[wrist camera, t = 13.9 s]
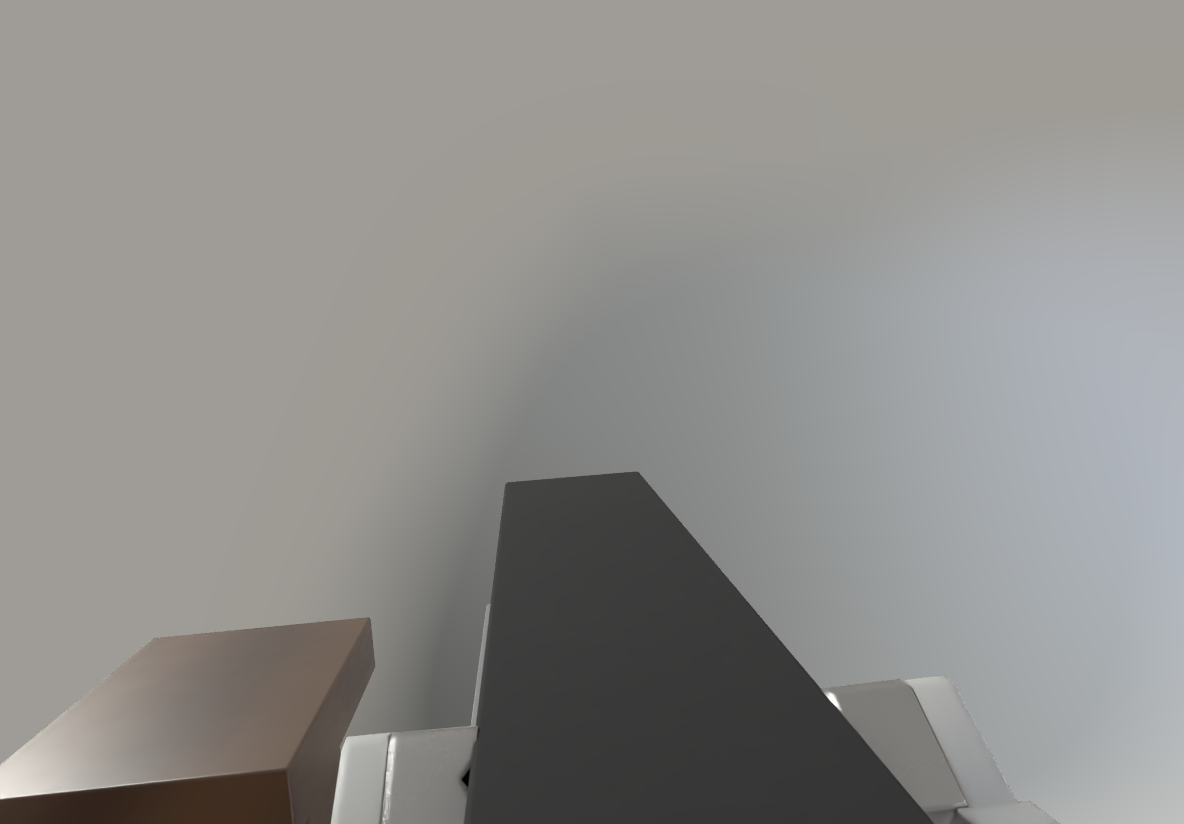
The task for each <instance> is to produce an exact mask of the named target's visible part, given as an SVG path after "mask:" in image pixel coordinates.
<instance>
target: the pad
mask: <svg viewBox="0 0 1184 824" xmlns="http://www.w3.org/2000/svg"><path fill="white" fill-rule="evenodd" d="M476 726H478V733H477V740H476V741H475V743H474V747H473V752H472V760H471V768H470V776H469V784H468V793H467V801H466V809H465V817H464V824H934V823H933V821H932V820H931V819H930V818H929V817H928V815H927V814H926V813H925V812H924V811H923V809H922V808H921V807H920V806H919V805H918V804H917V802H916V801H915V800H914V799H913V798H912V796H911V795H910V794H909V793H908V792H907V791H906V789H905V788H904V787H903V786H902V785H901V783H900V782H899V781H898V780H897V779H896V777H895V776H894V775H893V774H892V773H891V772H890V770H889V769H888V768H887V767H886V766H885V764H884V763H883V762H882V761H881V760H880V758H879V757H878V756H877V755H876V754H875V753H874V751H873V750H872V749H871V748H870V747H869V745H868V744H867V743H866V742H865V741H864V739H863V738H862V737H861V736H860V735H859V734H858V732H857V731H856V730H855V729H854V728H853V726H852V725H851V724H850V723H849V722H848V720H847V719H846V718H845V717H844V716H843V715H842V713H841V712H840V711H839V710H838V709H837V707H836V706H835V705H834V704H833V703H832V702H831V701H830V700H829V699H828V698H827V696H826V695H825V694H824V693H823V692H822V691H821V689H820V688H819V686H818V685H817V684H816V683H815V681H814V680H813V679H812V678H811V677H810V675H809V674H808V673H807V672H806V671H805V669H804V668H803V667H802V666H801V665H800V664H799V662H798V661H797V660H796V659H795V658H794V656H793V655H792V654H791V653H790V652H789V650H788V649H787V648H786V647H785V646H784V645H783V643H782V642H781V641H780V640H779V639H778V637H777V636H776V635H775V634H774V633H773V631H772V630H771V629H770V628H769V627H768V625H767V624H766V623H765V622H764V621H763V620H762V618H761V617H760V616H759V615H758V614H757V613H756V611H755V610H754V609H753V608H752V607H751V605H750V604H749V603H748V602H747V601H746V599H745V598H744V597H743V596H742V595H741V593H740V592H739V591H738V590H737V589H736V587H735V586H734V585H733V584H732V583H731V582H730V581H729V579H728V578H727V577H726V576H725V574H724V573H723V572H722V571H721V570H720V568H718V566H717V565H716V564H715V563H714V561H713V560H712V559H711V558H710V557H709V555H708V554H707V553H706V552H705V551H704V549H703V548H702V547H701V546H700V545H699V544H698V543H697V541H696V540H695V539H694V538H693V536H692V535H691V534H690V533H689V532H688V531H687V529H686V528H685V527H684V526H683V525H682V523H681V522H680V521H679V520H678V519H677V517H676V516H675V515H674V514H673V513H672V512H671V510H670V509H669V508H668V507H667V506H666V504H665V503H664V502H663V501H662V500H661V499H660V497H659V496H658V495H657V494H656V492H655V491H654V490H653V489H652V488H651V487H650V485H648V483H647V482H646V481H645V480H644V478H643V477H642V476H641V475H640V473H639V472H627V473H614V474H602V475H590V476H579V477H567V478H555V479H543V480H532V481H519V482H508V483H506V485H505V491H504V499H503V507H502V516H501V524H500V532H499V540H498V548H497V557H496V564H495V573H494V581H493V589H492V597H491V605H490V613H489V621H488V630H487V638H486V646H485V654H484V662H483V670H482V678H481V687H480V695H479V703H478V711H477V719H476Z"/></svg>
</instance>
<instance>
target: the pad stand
mask: <svg viewBox="0 0 1184 824" xmlns="http://www.w3.org/2000/svg"><path fill="white" fill-rule="evenodd" d="M374 668H375V660H374V649H373V640H372V630H371V620H370V618H357V619H348V620H338V621H326V622H317V623H307V624H296V625H286V626H275V627H266V628H255V629H244V630H234V631H225V632H214V633H205V634H204V633H203V634H193V635H183V636H173V637H162V638H154V639H153V640H151V641H150V642H149V643H148V644H147V645H145V646H144V647H143V648H142V649H140V650H139V651H138V652H137V653H136V654H134V655H133V656H132V657H131V658H129V659H128V660H127V661H126V662H125V663H123V664H122V665H121V666H120V667H119V668H117V669H116V670H115V671H114V672H112V673H111V674H110V675H109V676H108V677H106V678H105V679H104V680H103V681H101V682H100V683H99V684H98V685H97V686H96V687H94V688H93V689H92V690H91V691H90V692H88V693H87V694H86V695H85V696H83V697H82V698H81V699H80V700H78V701H77V702H76V703H75V704H73V705H72V706H71V707H70V708H69V709H67V710H66V711H65V712H64V713H63V714H61V715H60V716H59V717H58V718H56V719H55V720H54V721H53V722H52V723H50V724H49V725H48V726H47V727H45V729H43V730H42V731H41V732H39V733H38V734H37V735H36V736H35V737H33V738H32V739H31V740H30V741H28V742H27V743H26V744H25V745H24V746H22V747H21V748H20V749H19V750H18V751H16V752H15V753H14V754H13V755H11V756H10V757H9V758H8V759H7V760H5V761H4V762H3V763H2V764H0V824H331V818H332V811H333V805H334V798H335V791H336V784H337V777H338V770H339V763H340V756H341V752H340V745H341V742H342V740H343V738H344V736H345V734H346V731H347V729H348V727H349V724H350V722H351V720H352V718H353V716H354V713H355V711H356V709H357V707H358V704H359V702H360V700H361V697H362V695H363V693H364V691H365V688H366V686H367V684H368V682H369V680H370V677H371V675H372V673H373V671H374Z"/></svg>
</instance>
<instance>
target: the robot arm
mask: <svg viewBox="0 0 1184 824" xmlns="http://www.w3.org/2000/svg"><path fill="white" fill-rule="evenodd" d="M821 691H822V692H823V693H824V694H825V695H826V696H827V698H828V699H829V700H830V701H831V702H832V703H833V704H834V705H835V706H836V707H837V709H838V710H839V711H840V712H841V713H842V715H843V716H844V717H845V718H846V719H847V720H848V722H849V723H850V724H851V725H852V726H853V728H854V729H855V730H856V731H857V732H858V734H859V735H860V736H861V737H862V738H863V739H864V741H865V742H866V743H867V744H868V745H869V747H870V748H871V749H872V750H873V751H874V753H875V754H876V755H877V756H878V757H879V758H880V760H881V761H882V762H883V763H884V764H885V766H886V767H887V768H888V769H889V770H890V772H891V773H892V774H893V775H894V776H895V777H896V779H897V780H898V781H899V782H900V783H901V785H902V786H903V787H904V788H905V789H906V791H907V792H908V793H909V794H910V795H911V796H912V798H913V799H914V800H915V801H916V802H917V804H918V805H919V806H920V807H921V808H922V809H923V811H924V812H925V813H926V814H927V815H928V817H929V818H930V819H931V820H932V821H933V823H934V824H1060V823H1059V822H1058V821H1056V820H1055V819H1054V818H1052V817H1051V816H1050V815H1048V814H1047V813H1046V812H1044V811H1043V810H1041V809H1040V808H1039V807H1038V806H1036V805H1035V804H1034V803H1032V802H1031V801H1021V802H1017V800H1016V798H1015V796H1014V794H1013V792H1012V791H1011V789H1010V787H1009V785H1008V783H1007V781H1006V779H1005V778H1004V776H1003V774H1002V772H1001V770H1000V768H999V766H998V764H997V763H996V761H995V759H994V757H993V755H992V753H991V752H990V750H989V748H988V746H987V744H986V742H985V740H984V738H983V737H982V735H981V733H980V731H979V729H978V727H977V725H976V724H975V722H974V720H973V718H972V716H971V714H970V712H969V711H968V709H967V707H966V705H965V703H964V701H963V699H962V698H961V696H960V694H959V692H958V690H957V688H956V686H955V684H954V683H953V682H952V681H950V680H949V679H948V678H947V677H945V676H934V677H926V678H918V679H911V680H903V681H901V680H900V679H898V680H889V681H881V682H872V683H864V684H856V685H848V686H840V687H831V688H823V689H821ZM477 733H478V726H466V727H455V728H443V729H431V730H420V731H408V732H397V733H382V734H372V735H363V736H353V737H347V739H346V741H345V744H344V746H343V749H342V751H341V756H340V763H339V770H338V777H337V784H336V791H335V798H334V805H333V811H332V818H331V824H464V817H465V809H466V801H467V793H468V784H469V776H470V768H471V760H472V752H473V747H474V743H475V741H476V740H477Z"/></svg>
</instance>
